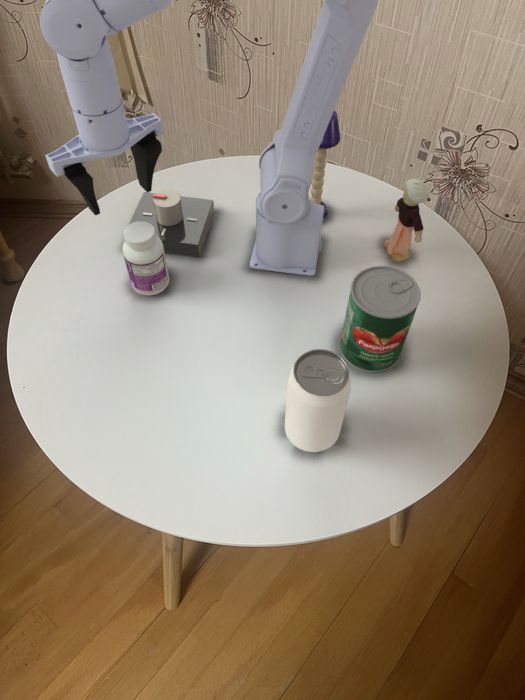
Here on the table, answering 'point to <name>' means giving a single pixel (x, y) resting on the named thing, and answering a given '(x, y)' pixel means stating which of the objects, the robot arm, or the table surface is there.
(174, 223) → the hob knob
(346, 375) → the can
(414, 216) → the grandmother figurine
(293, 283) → the table surface
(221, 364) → the table surface
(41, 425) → the table surface
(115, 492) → the table surface
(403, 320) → the canned tomato
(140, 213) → the knob base
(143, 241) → the pill bottle
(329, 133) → the toy lamp
